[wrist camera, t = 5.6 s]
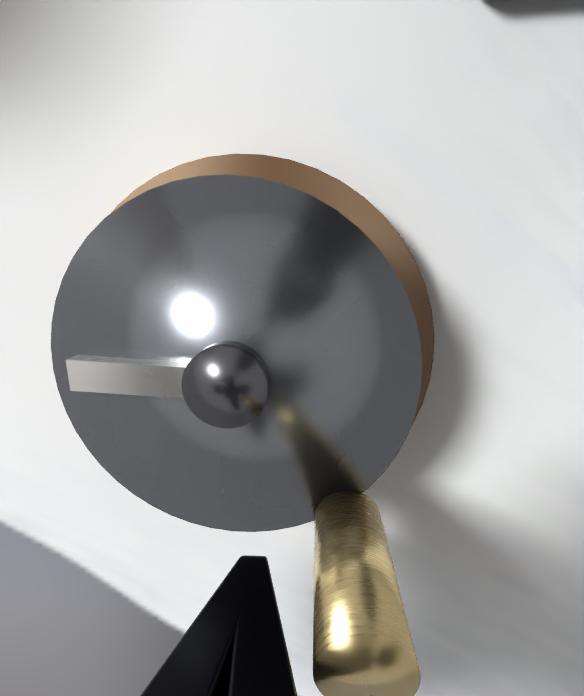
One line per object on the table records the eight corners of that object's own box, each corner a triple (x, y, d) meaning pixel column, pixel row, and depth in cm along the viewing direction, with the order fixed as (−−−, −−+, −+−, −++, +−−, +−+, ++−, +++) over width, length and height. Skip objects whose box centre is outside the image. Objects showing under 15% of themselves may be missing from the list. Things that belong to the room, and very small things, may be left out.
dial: (67, 182, 8) (-245, 89, 4) (430, 193, 8) (597, 100, 3) (107, 487, 11) (-50, 660, 6) (385, 512, 10) (440, 722, 6)
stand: (442, 153, 9) (475, 127, 7) (411, 497, 12) (428, 542, 10) (50, 170, 10) (-11, 150, 8) (112, 487, 13) (77, 526, 11)
